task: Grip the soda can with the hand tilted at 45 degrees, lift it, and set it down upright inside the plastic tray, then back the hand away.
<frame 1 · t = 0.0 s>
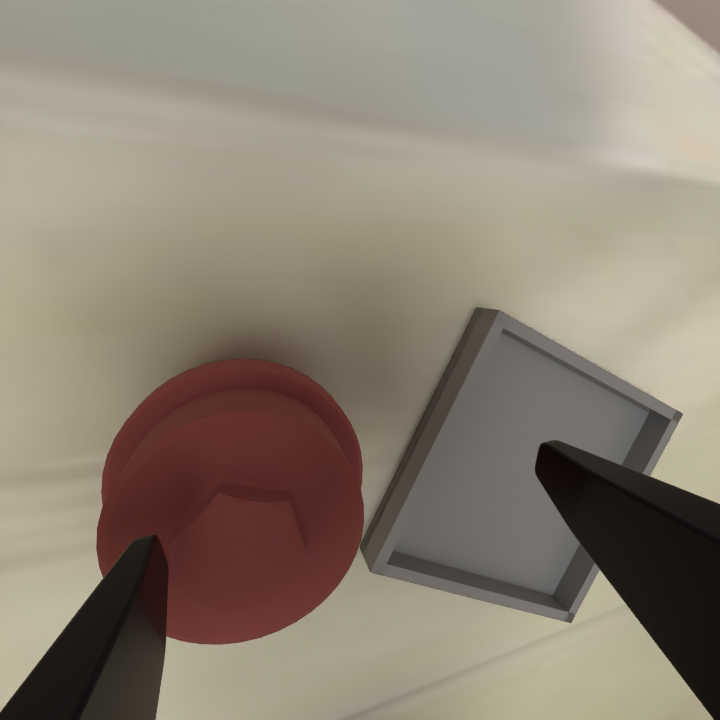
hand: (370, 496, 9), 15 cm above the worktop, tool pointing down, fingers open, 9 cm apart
tray: (516, 469, 30), on the worktop
mechanical component: (244, 418, 24), on the worktop
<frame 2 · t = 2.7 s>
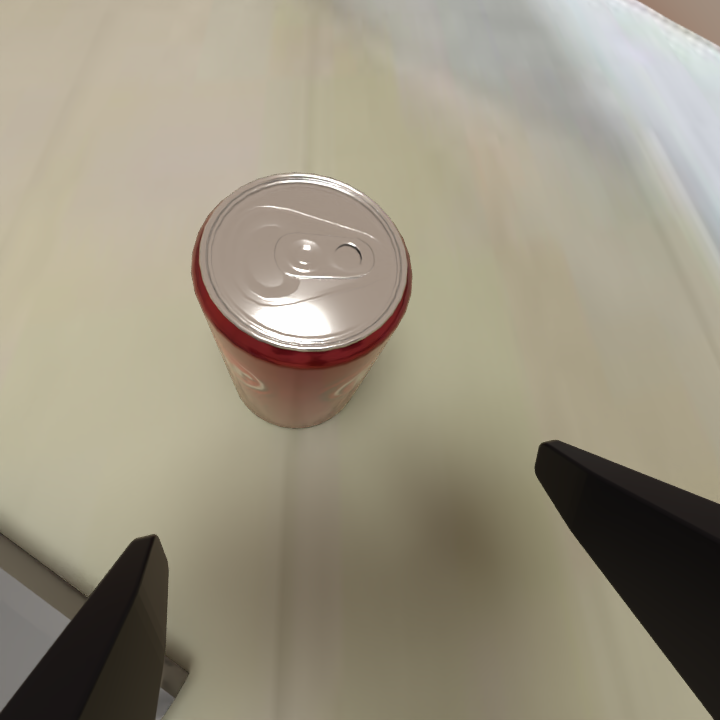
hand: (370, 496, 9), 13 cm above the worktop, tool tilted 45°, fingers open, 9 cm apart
soda can: (296, 370, 24), on the worktop
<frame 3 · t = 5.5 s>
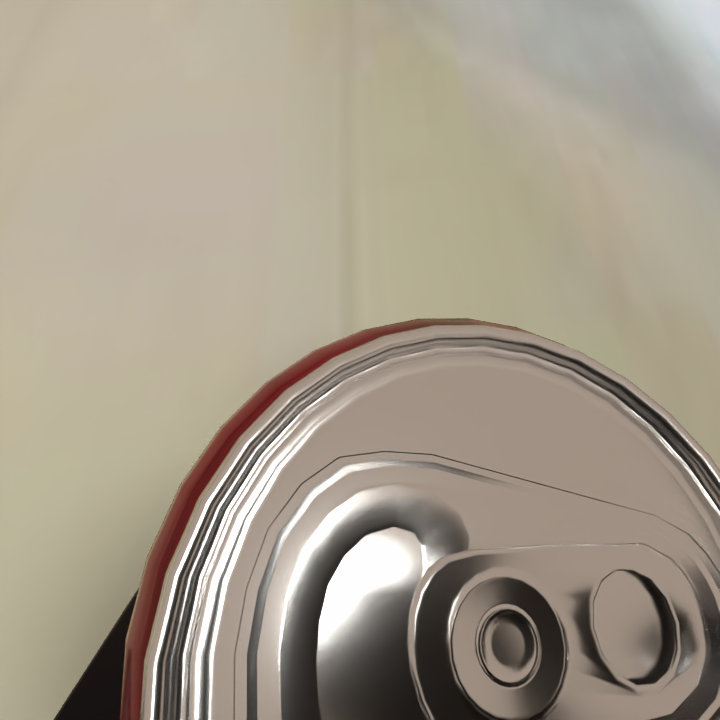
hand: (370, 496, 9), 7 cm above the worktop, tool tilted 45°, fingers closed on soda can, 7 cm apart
soda can: (342, 536, 15), on the worktop, touching gripper
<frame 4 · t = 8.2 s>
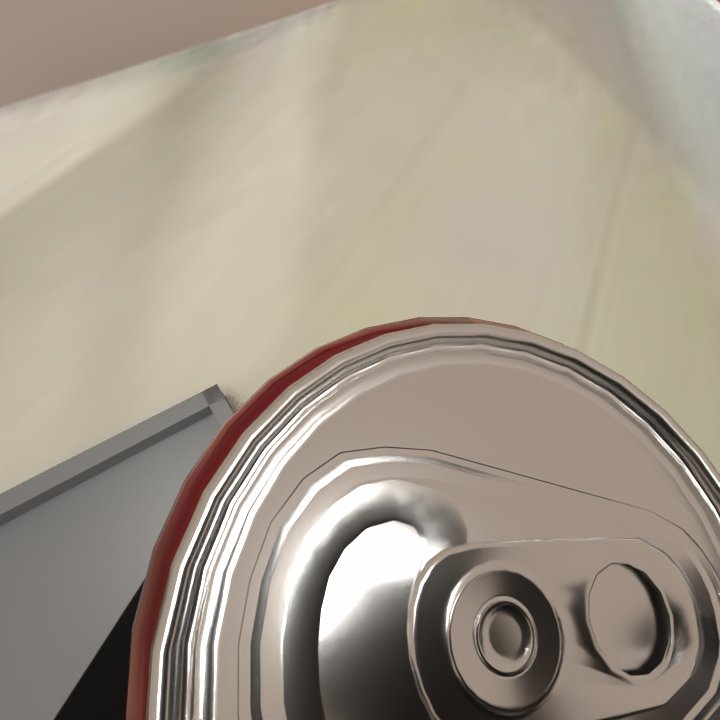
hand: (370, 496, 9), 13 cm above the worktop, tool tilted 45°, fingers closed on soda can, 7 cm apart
tray: (128, 665, 18), on the worktop
soda can: (343, 534, 15), point 6 cm above the worktop, touching gripper
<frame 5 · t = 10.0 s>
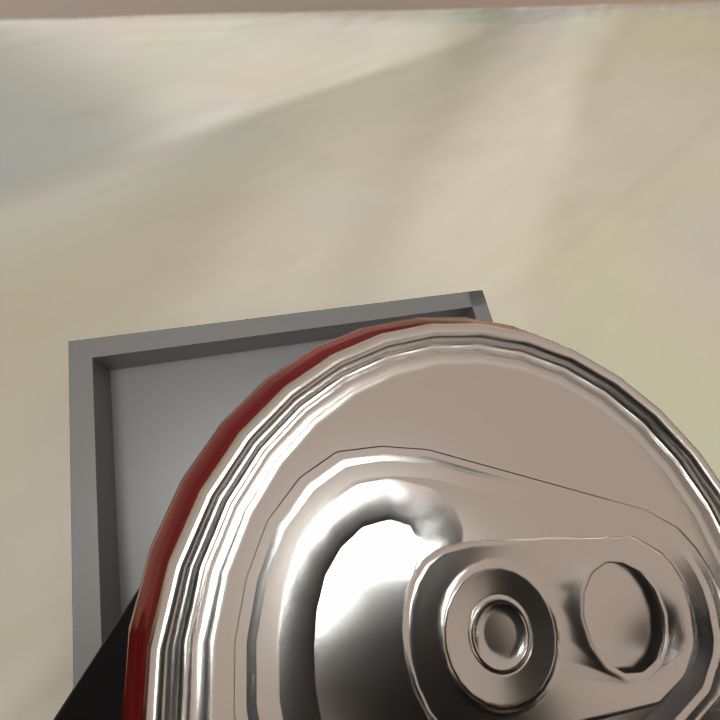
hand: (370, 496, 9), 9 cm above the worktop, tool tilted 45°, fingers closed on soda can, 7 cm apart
tray: (333, 523, 17), on the worktop
soda can: (341, 534, 15), point 2 cm above the worktop, touching gripper
when the fingers open (9 cm above the worktop, at t = 11.1 s): soda can drops 1 cm, resting on tray.
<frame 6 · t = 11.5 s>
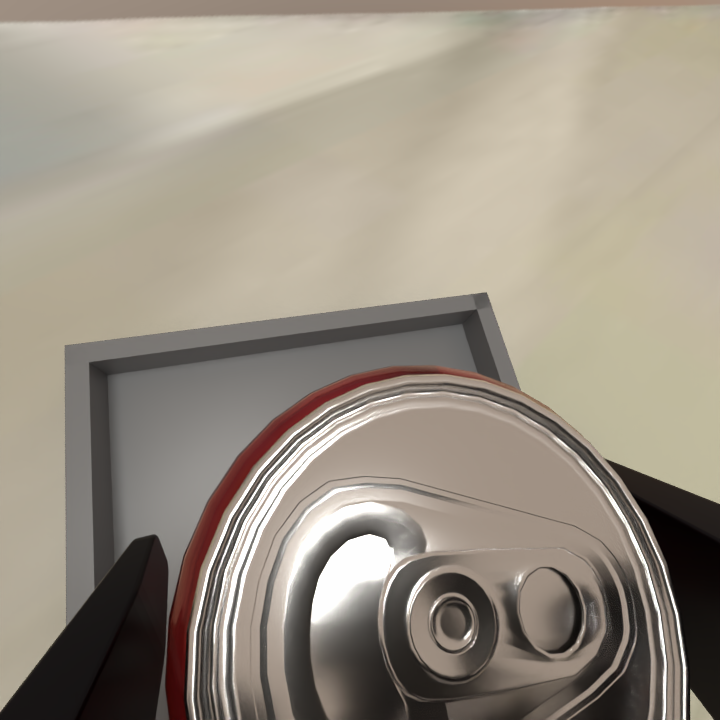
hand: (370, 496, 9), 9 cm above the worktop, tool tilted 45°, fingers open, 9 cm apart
tray: (336, 532, 17), on the worktop
soda can: (338, 537, 16), point 1 cm above the worktop, touching tray
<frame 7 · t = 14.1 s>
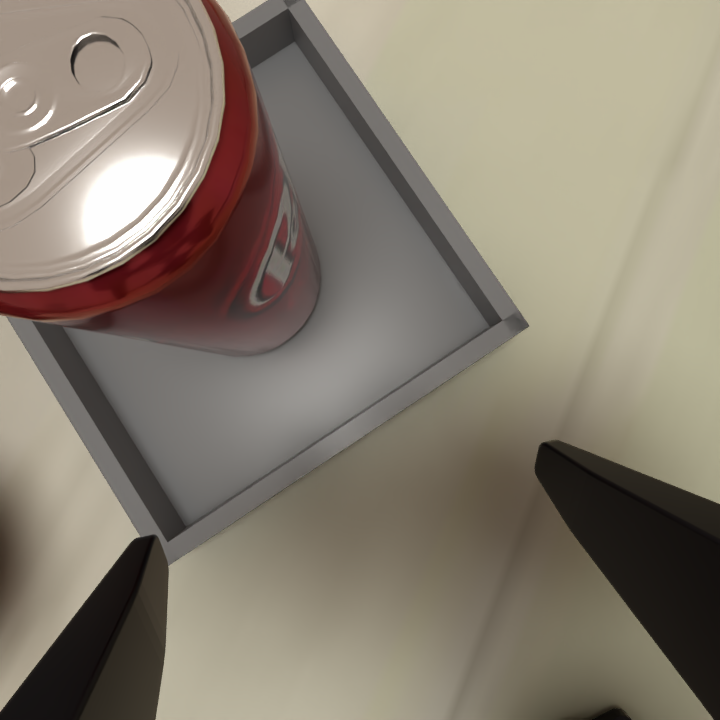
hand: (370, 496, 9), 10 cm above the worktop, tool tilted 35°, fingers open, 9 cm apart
tray: (247, 280, 19), on the worktop
soda can: (245, 280, 19), point 1 cm above the worktop, touching tray
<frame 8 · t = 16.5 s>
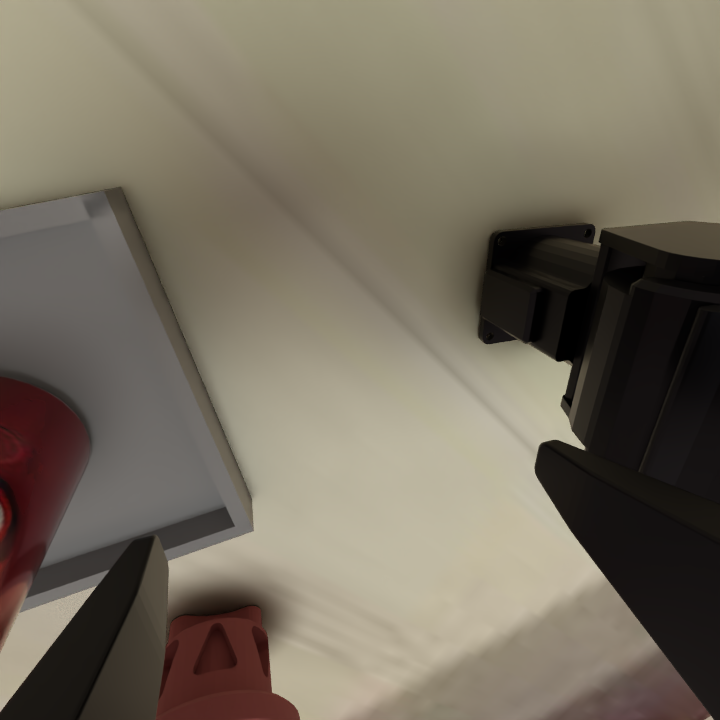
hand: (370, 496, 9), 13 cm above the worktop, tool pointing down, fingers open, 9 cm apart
tray: (6, 429, 19), on the worktop
soda can: (3, 436, 18), point 1 cm above the worktop, touching tray
mechanical component: (216, 624, 29), on the worktop
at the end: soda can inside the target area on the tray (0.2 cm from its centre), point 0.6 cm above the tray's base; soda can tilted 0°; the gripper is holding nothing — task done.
